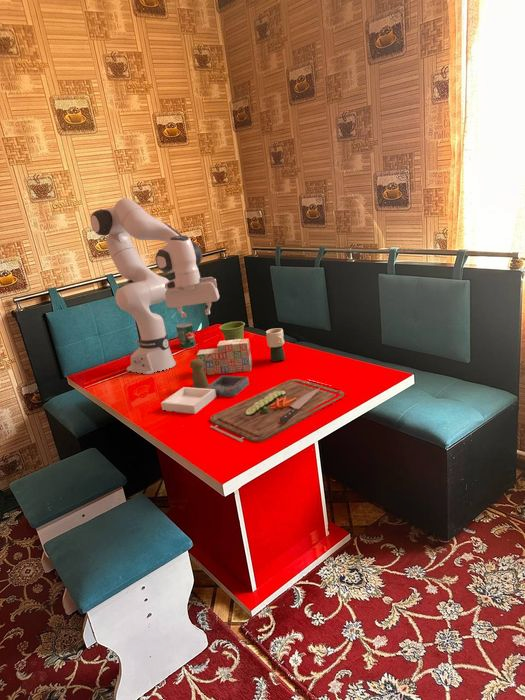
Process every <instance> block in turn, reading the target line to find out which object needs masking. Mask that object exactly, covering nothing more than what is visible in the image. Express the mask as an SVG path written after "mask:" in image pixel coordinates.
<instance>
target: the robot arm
mask: <svg viewBox="0 0 525 700" xmlns="http://www.w3.org/2000/svg"><path fill="white" fill-rule="evenodd" d="M90 225H91V228H92V230H93V232H94V233H95V234H96V235H98V236H103V237H104V236H106V240H105V243H106V247H107V251H108V253H109V255H110V258H111V259H112V262H113V264H114V265H115V268H116V270H117V272H118V274H119V276H121V277H122V278H124V279H126V280H130V281H133V282H132V283H128V284H125V285H124V286H121V287H119V288H117V290H116V292H115V302H116V305H117V306H118V307H119V309H120V310H122V311H124V312H127V313H129V315H130V316H132V317H133V319H134V320H135V323H136V324H137V328H138V331H139V336H140V339H138V340H137V341H136V344H139V347H138V348H137V349H135V351H134V352H133V353H132V354H131V355H130V365H128V366H127V368H126V371H127V372H130V371H131V372H130V373H136V372H137V373H138V374H141V373H143V375H151V374H154V372H155V373H158V372H157V371H160V372H163V371H162V370H164V371H167V370H169V368H170V369H171V368H174V367H175V366H176V365H177V362H176V360H175V359H174V356H173V353H172V351H171V348H170V340H169V336H168V334H167V332H166V326H165V322H164V318H163V317H162V316H161V315H160V314H158V313H155V312H152V311H151V309H150V306H152V305H153V306H154V305H156V304H160V303H163V302H164V301H165V304H166V307H167V308H169V309H173V308H176V310H177V312H178V313H179V314H180V316H181V318H182V319H185V318H187V317H188V316H187V312H184V311H183V307H187V306H193V305H201V304H206V306H207V308H206V309H205V310H204V313H205V315H207V316H208V315H210V314H211V307H212V303H214V302H217V301H218V300H219V299H220V294H219V293H220V292H219V289H218V283H217V279H216V278H215V277H212V276H208V277H206V276H205V277H201V276H200V271H199V265H200V264H201V263H202V260H203V251H202V249H201V247H200V246H199V245H198V244H197V243H196V242H194V241H192V240H191V238H190V237H189V236H188V235H183V234H181V233H180V232H178V230H175V229H174V228H173V227H172V226H170V225H169V224H167V223H166V222H164V221H162V220H160V219H157V218H155V217H154V216H152V215H151V214H150V213H148V212H147V211H146V210H145V209H144V208H143V207H142V206H141V205H140V204H138V203H137V202H135V201H134V200H132V199H130V198H121V199H119V200H118V201H117V202H115V205H114V206H112V207H107V208H100V209H98V210H95V211H93V212H92V213H91V216H90ZM131 237H132V238H134V239H135V240H138V241H162V242H165V243H167V244H165V246H163V247H162V248H161V249H159V250H158V251H157V252H156V255H155V263H156V267H157V268H158V269H159V270H160V272H162V273H165V274H172V273H174V275H175V278H172V279H171V280H169V279H168V278H166V277H165V276H161V275H160V274H157V273H155V272H154V271H152V269H150V268H149V267H148V266H147V265H146V264H145V262H144V261H143V260H142V258H141V255H140V254H139V252H138V250H137V249H136V247H135V244H134V243H133V241H132V240H131ZM166 369H167V370H166Z"/></svg>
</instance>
